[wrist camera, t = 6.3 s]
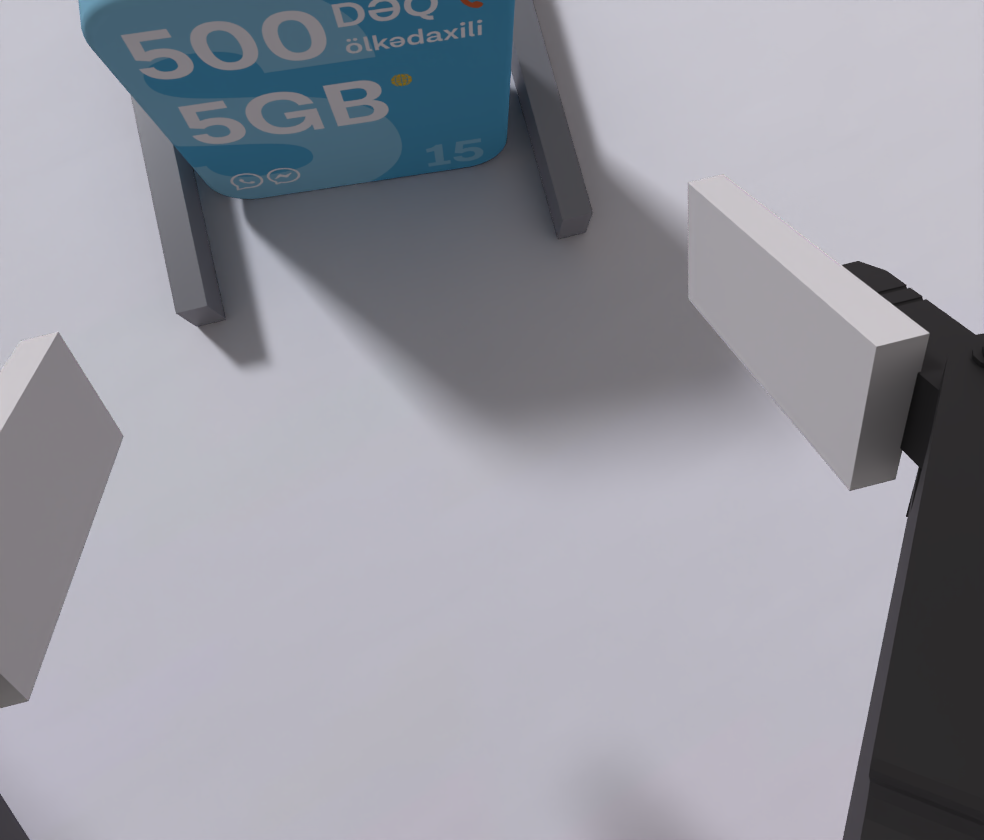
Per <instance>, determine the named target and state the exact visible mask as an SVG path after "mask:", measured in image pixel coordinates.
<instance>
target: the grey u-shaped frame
mask: <svg viewBox="0 0 984 840" xmlns="http://www.w3.org/2000/svg"><path fill="white" fill-rule="evenodd" d="M511 71H512V75H513V78H514V82H515V86H516V89H517V93H518V97H519V100H520V104H521V107H522V111H523V115H524V118H525V122H526V125H527V129H528V133H529V136H530V140H531V144H532V147H533V151H534V154H535V158H536V162H537V165H538V169H539V173H540V176H541V180H542V183H543V187H544V191H545V194H546V198H547V201H548V205H549V209H550V212H551V216H552V220H553V223H554V227H555V230H556V234H557V238H558V239H559V238H564V237H568V236H572V235H576V234H580V233H584V232H586V230H587V227H588V224H589V222H590V219H591V216H592V213H593V212H592V208H591V205H590V201H589V198H588V194H587V191H586V187H585V184H584V180H583V177H582V173H581V169H580V166H579V162H578V159H577V155H576V152H575V148H574V145H573V141H572V138H571V134H570V131H569V127H568V124H567V120H566V117H565V113H564V110H563V106H562V102H561V99H560V95H559V92H558V88H557V85H556V81H555V78H554V74H553V71H552V67H551V64H550V60H549V57H548V53H547V50H546V46H545V43H544V39H543V35H542V32H541V28H540V25H539V21H538V18H537V14H536V11H535V7H534V4H533V0H515V9H514V26H513V43H512V61H511ZM131 99H132V104H133V108H134V113H135V118H136V123H137V128H138V133H139V137H140V142H141V147H142V152H143V157H144V161H145V166H146V171H147V176H148V181H149V186H150V190H151V195H152V200H153V205H154V210H155V214H156V219H157V224H158V229H159V234H160V239H161V243H162V248H163V253H164V258H165V263H166V267H167V272H168V277H169V282H170V287H171V291H172V296H173V301H174V306H175V311H176V314H178V315H179V316H181V317H183V318H184V319H186V320H187V321H189V322H190V323H192V324H193V325H195V326H201V325H205V324H209V323H213V322H217V321H221V320H225V314H224V310H223V305H222V300H221V296H220V291H219V287H218V282H217V277H216V273H215V268H214V263H213V259H212V254H211V250H210V245H209V240H208V236H207V231H206V226H205V222H204V217H203V212H202V208H201V203H200V199H199V194H198V189H197V185H196V180H195V175H194V171H193V167H192V166H191V165H190V164H189V163H188V162H187V160H186V159H185V158H184V157H183V156H182V154H181V153H180V152H179V151H178V150H177V149H176V147H175V146H174V145H173V144H172V143H171V141H170V140H169V139H168V138H167V137H166V136H165V134H164V133H163V132H162V131H161V130H160V129H159V127H158V126H157V125H156V124H155V123H154V121H153V120H152V119H151V118H150V117H149V116H148V114H147V113H146V112H145V111H144V110H143V108H142V107H141V106H140V105H139V104H138V103H137V101H136V100H135V99H134V98H133V97H132V96H131Z"/></svg>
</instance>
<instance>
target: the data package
mask: <svg viewBox="0 0 984 840" xmlns="http://www.w3.org/2000/svg"><path fill="white" fill-rule="evenodd" d="M514 9H515V0H79V10H80V20H81V29H82V32H83V35H84V37H85V39H86V41H87V43H88V44H89V46H90V47H91V48H92V50H93V51H94V52H95V53H96V54H97V55H98V57H99V58H100V59H101V60H102V61H103V63H104V64H105V65H106V66H107V67H108V68H109V70H110V71H111V72H112V73H113V74H114V75H115V77H116V78H117V79H118V80H119V81H120V83H121V84H122V85H123V86H124V87H125V88H126V90H127V91H128V92H129V93H130V94H131V96H132V97H133V98H134V99H135V100H136V101H137V103H138V104H139V105H140V106H141V107H142V108H143V110H144V111H145V112H146V113H147V114H148V116H149V117H150V118H151V119H152V120H153V121H154V123H155V124H156V125H157V126H158V127H159V129H160V130H161V131H162V132H163V133H164V134H165V136H166V137H167V138H168V139H169V140H170V141H171V143H172V144H173V145H174V146H175V147H176V149H177V150H178V151H179V152H180V153H181V154H182V156H183V157H184V158H185V159H186V160H187V162H188V163H189V164H190V165H191V166H192V167H193V169H194V170H195V171H196V172H197V173H198V174H199V176H200V177H201V178H202V179H203V180H204V182H205V183H206V184H207V185H208V186H209V187H210V188H211V189H212V190H214V191H216V192H217V193H220V194H222V195H225V196H228V197H233V198H240V199H257V198H265V197H272V196H278V195H285V194H292V193H298V192H305V191H312V190H318V189H325V188H332V187H338V186H345V185H352V184H358V183H365V182H372V181H378V180H385V179H392V178H398V177H405V176H412V175H418V174H425V173H432V172H438V171H445V170H452V169H458V168H465V167H471V166H475V165H478V164H481V163H484V162H486V161H488V160H490V159H492V158H494V157H495V156H497V155H498V154H499V153H500V152H501V151H502V150H503V148H504V147H505V144H506V141H507V129H508V112H509V95H510V78H511V61H512V43H513V26H514Z"/></svg>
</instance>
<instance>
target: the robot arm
mask: <svg viewBox="0 0 984 840" xmlns="http://www.w3.org/2000/svg"><path fill="white" fill-rule="evenodd" d="M688 299H689V300H690V302H691V303H692V304H693V305H694V306H695V308H696V309H697V310H698V311H699V312H700V313H701V315H702V316H703V317H704V318H705V319H706V321H707V322H708V323H709V324H710V325H711V327H712V328H713V329H714V330H715V331H716V333H717V334H718V335H719V336H720V337H721V338H722V340H723V341H724V342H725V343H726V344H727V346H728V347H729V348H730V349H731V350H732V352H733V353H734V354H735V355H736V356H737V358H738V359H739V360H740V361H741V362H742V363H743V365H744V366H745V367H746V368H747V369H748V371H749V372H750V373H751V374H752V375H753V377H754V378H755V379H756V380H757V381H758V383H759V384H760V385H761V386H762V387H763V389H764V390H765V391H766V392H767V393H768V394H769V396H770V397H771V398H772V399H773V400H774V402H775V403H776V404H777V405H778V406H779V408H780V409H781V410H782V411H783V412H784V414H785V415H786V416H787V417H788V418H789V419H790V421H791V422H792V423H793V424H794V425H795V427H796V428H797V429H798V430H799V431H800V433H801V434H802V435H803V436H804V437H805V439H806V440H807V441H808V442H809V443H810V444H811V446H812V447H813V448H814V449H815V450H816V452H817V453H818V454H819V455H820V456H821V458H822V459H823V460H824V461H825V462H826V464H827V465H828V466H829V467H830V468H831V469H832V471H833V472H834V473H835V474H836V475H837V477H838V478H839V479H840V480H841V481H842V483H843V484H844V485H845V486H846V487H847V489H848V490H849V491H852V490H855V489H859V488H863V487H867V486H871V485H875V484H879V483H883V482H887V481H891V480H895V479H896V474H897V470H898V466H899V462H900V457H901V453H902V450H903V451H904V452H905V453H906V454H907V455H908V456H909V457H910V458H911V459H912V460H913V461H914V462H915V463H916V464H917V465H918V466H919V468H918V472H917V476H916V480H915V484H914V487H913V491H912V495H911V499H910V503H909V507H908V511H907V514H906V517H908V519H907V524H906V528H905V533H904V538H903V543H902V548H901V553H900V558H899V563H898V568H897V573H896V578H895V583H894V588H893V593H892V598H891V603H890V608H889V613H888V618H887V623H886V628H885V632H884V637H883V642H882V647H881V652H880V657H879V662H878V667H877V672H876V677H875V682H874V687H873V692H872V697H871V702H870V707H869V712H868V717H867V722H866V727H865V732H864V737H863V741H862V746H861V751H860V756H859V761H858V766H857V771H856V776H855V781H854V786H853V791H852V796H851V801H850V806H849V811H848V816H847V821H846V826H845V831H844V836H843V840H984V334H978V335H975V334H974V333H972V332H971V331H970V330H968V329H967V328H965V327H964V326H963V325H961V324H960V323H959V322H957V321H956V320H954V319H953V318H952V317H950V316H949V315H947V314H946V313H945V312H943V311H942V310H940V309H939V308H938V307H936V306H935V305H933V304H932V303H931V302H929V301H928V300H927V299H926V300H923V299H922V296H921V295H920V294H918V293H917V292H915V291H914V290H913V289H911V288H907V287H906V284H904V283H903V282H901V281H900V280H899V279H897V278H896V277H895V276H893V275H892V274H890V273H889V272H888V271H886V270H883V269H880V268H877V267H874V266H871V265H868V264H865V263H862V262H860V261H856V262H852V263H848V264H844V265H840V264H839V263H838V262H837V261H835V260H834V259H833V258H831V257H830V256H829V255H828V254H826V253H825V252H824V251H822V250H821V249H820V248H818V247H817V246H816V245H815V244H813V243H812V242H811V241H809V240H808V239H807V238H805V237H804V236H803V235H802V234H800V233H799V232H798V231H796V230H795V229H794V228H792V227H791V226H790V225H789V224H787V223H786V222H785V221H783V220H782V219H781V218H780V217H778V216H777V215H776V214H774V213H773V212H772V211H770V210H769V209H768V208H767V207H765V206H764V205H763V204H761V203H760V202H759V201H757V200H756V199H755V198H754V197H752V196H751V195H750V194H748V193H747V192H746V191H744V190H743V189H742V188H741V187H739V186H738V185H737V184H735V183H734V182H733V181H732V180H730V179H729V178H728V177H726V176H725V175H724V174H722V175H717V176H713V177H709V178H705V179H700V180H696V181H692V182H688ZM122 439H123V434H122V433H121V431H120V429H119V428H118V426H117V425H116V423H115V422H114V420H113V418H112V417H111V415H110V414H109V412H108V410H107V409H106V407H105V406H104V404H103V402H102V401H101V399H100V398H99V396H98V394H97V393H96V391H95V390H94V388H93V386H92V385H91V383H90V382H89V380H88V378H87V377H86V375H85V374H84V372H83V370H82V369H81V367H80V366H79V364H78V362H77V361H76V359H75V358H74V356H73V354H72V353H71V351H70V350H69V348H68V346H67V345H66V343H65V342H64V340H63V338H62V337H61V335H60V334H59V332H55V333H51V334H47V335H42V336H38V337H34V338H30V339H25V340H21V341H20V342H19V343H18V345H17V346H16V348H15V350H14V351H13V353H12V354H11V356H10V357H9V359H8V360H7V362H6V363H5V365H4V366H3V368H2V370H1V371H0V708H3V707H7V706H11V705H15V704H19V703H23V702H27V701H29V699H30V696H31V693H32V690H33V687H34V685H35V682H36V679H37V676H38V673H39V671H40V668H41V665H42V662H43V659H44V657H45V654H46V651H47V648H48V646H49V643H50V640H51V637H52V634H53V632H54V629H55V626H56V623H57V620H58V618H59V615H60V612H61V609H62V606H63V604H64V601H65V598H66V595H67V593H68V590H69V587H70V584H71V581H72V579H73V576H74V573H75V570H76V567H77V565H78V562H79V559H80V556H81V553H82V551H83V548H84V545H85V542H86V540H87V537H88V534H89V531H90V528H91V526H92V523H93V520H94V517H95V514H96V512H97V509H98V506H99V503H100V500H101V498H102V495H103V492H104V489H105V487H106V484H107V481H108V478H109V475H110V473H111V470H112V467H113V464H114V461H115V459H116V456H117V453H118V450H119V447H120V445H121V442H122ZM0 840H29V838H28V836H27V835H26V833H25V832H24V830H23V829H22V827H21V826H20V824H19V822H18V821H17V819H16V818H15V816H14V815H13V813H12V811H11V810H10V808H9V807H8V805H7V804H6V802H5V801H4V799H3V797H2V796H1V794H0Z"/></svg>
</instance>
